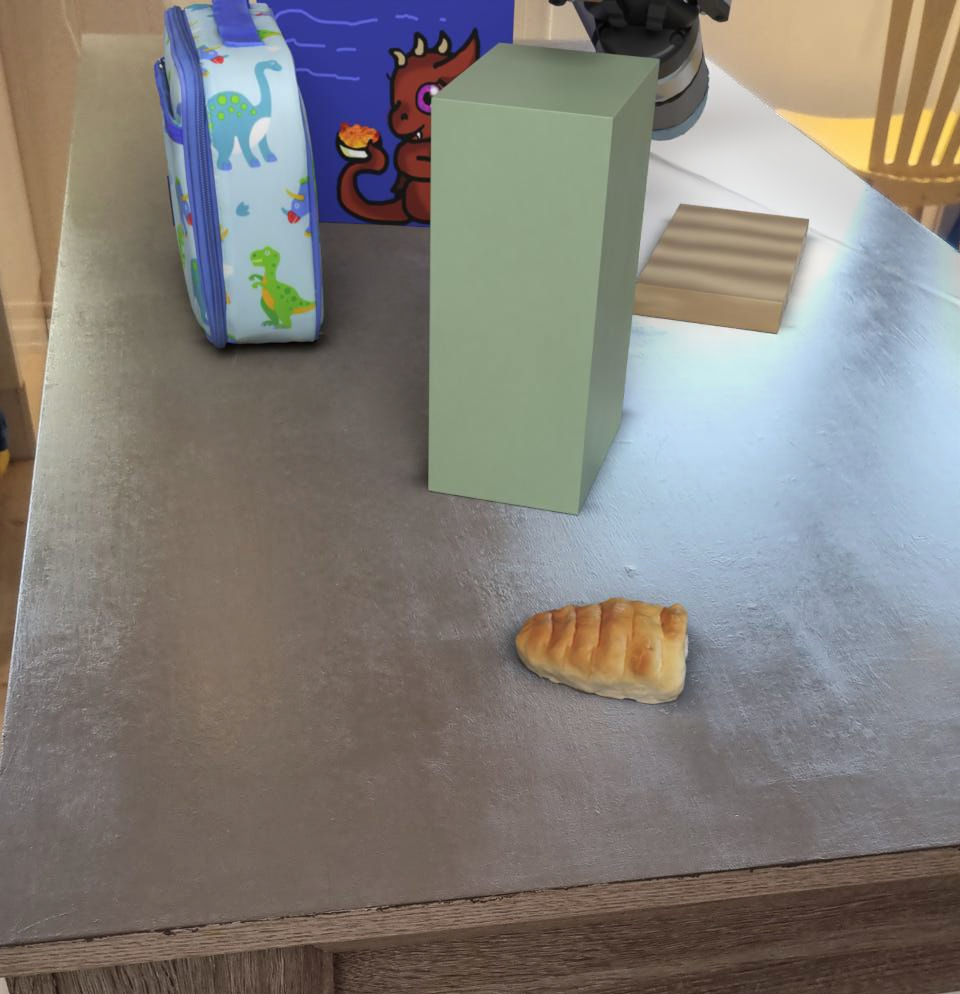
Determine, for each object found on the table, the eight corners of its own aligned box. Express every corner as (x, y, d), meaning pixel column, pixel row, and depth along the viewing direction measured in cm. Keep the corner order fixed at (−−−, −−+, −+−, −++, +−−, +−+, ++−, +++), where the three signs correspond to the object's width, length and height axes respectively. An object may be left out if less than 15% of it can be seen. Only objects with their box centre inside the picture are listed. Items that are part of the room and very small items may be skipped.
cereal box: (505, 209, 132) (522, -180, 112) (504, 230, 127) (521, -171, 107) (280, 199, 132) (256, -191, 112) (270, 219, 127) (244, -184, 107)
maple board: (676, 231, 129) (679, 203, 127) (804, 247, 126) (809, 218, 125) (631, 314, 113) (635, 283, 111) (777, 334, 111) (783, 302, 109)
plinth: (485, 404, 99) (498, 42, 83) (620, 424, 97) (659, 58, 82) (428, 491, 89) (431, 97, 73) (577, 515, 87) (613, 117, 72)
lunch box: (173, 253, 120) (141, -28, 106) (295, 247, 122) (280, -28, 108) (192, 374, 101) (156, 53, 87) (336, 365, 103) (324, 50, 89)
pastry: (508, 695, 72) (512, 633, 70) (519, 626, 77) (523, 567, 75) (686, 711, 72) (697, 649, 69) (686, 641, 77) (695, 581, 74)
